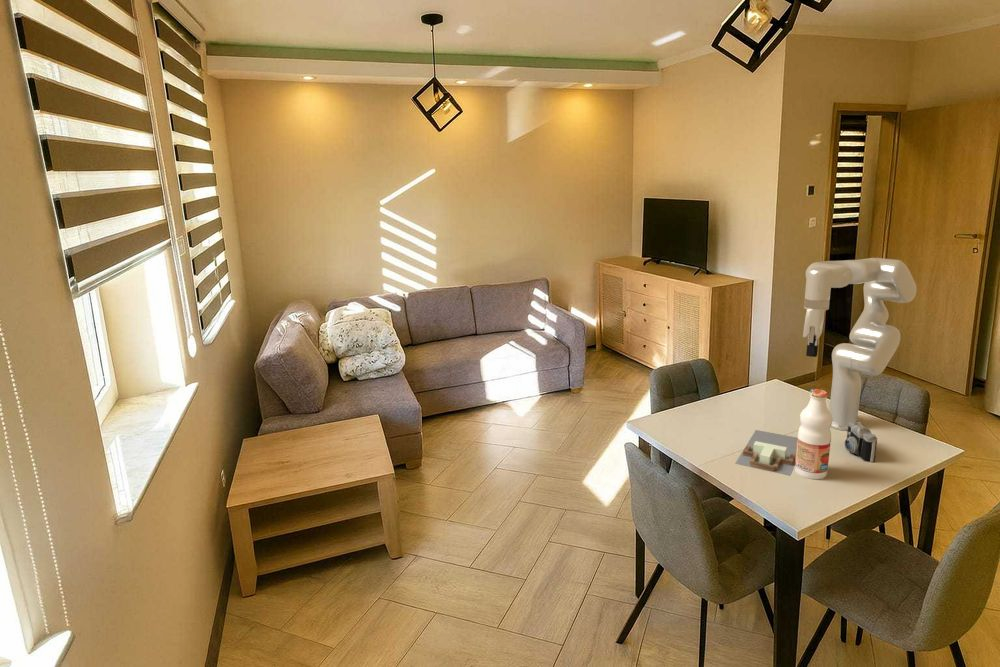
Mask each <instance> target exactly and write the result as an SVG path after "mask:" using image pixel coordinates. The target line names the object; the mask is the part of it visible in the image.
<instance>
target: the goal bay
mask: <svg viewBox="0 0 1000 667" xmlns="http://www.w3.org/2000/svg"><path fill="white" fill-rule="evenodd" d="M746 445H747V444H746ZM746 445H745V447H746V448H745V447H744V448H745V449H744V448H743V450H744V451H743V450H742V452H743V456H748V457H752V458H751V460H750V465H751V467H750V468H752V467H755V468H754V469H757V468H759V469H758V470H761V469H764V470H763V471H766V470H768V471H767V472H770V471H773V472H772V473H775V472H774V471H775V470H776V471H777V469H778V467H779V465H780V463H781V464H786V465H790V466H792V464H793V461H794V459H795V454H792V453H791V455H790V458H789V459H784V458H780V457H777V459H776V461H775V463H774V465H768V464H763V463H759V462H756V460H757V458H758V453H756V452H751V451H750V449H751V445H747V446H746Z"/></svg>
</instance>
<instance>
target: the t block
mask: <svg viewBox="0 0 1000 667" xmlns="http://www.w3.org/2000/svg"><path fill="white" fill-rule="evenodd" d="M753 452H756V453H758V456H760V460H759V463H763V464H768V465H770V464H771V463H772V461H773V459H774V460H776V459H777V457H780V458H784V459H786V453H787V447H783V446H778V445H773V444H768V443H763V442H758V441H755V443H754V446H753Z"/></svg>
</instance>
